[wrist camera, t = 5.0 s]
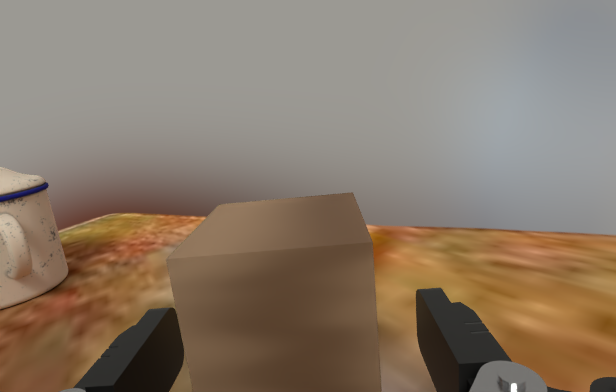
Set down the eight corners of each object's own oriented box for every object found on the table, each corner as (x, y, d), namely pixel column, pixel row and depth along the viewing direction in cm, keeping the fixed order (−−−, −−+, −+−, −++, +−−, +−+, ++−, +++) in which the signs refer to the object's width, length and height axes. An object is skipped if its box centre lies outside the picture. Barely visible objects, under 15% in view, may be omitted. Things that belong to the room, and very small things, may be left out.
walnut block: (233, 584, 10) (166, 259, 8) (258, 442, 15) (219, 204, 12) (392, 578, 10) (372, 242, 8) (370, 436, 15) (352, 192, 12)
